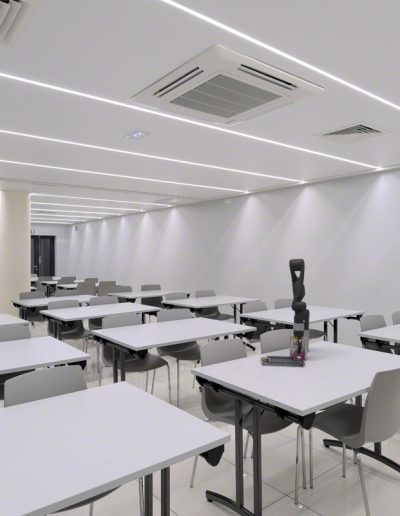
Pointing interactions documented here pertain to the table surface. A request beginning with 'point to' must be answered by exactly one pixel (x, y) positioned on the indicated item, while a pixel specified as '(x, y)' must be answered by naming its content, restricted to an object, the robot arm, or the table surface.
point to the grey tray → (282, 361)
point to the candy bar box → (295, 350)
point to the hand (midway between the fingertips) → (298, 352)
